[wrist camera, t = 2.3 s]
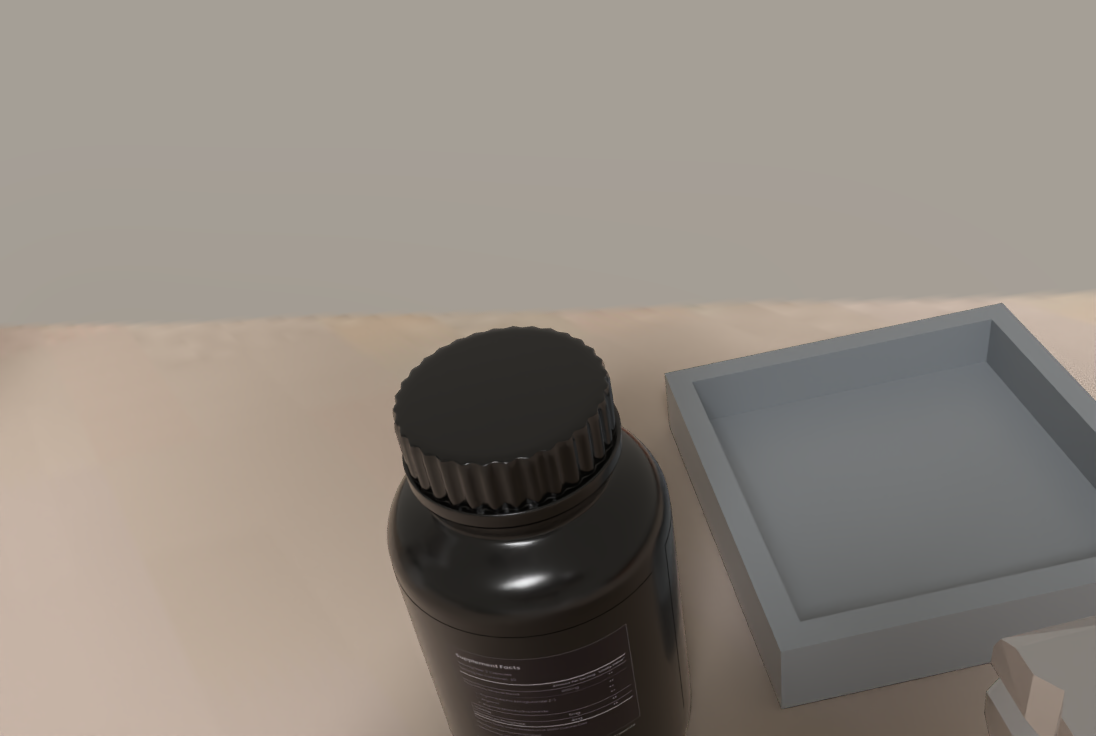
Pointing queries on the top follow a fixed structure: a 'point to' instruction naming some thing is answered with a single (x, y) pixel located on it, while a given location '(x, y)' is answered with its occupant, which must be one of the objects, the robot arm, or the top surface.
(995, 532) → the tray
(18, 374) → the top surface
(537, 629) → the supplement bottle
